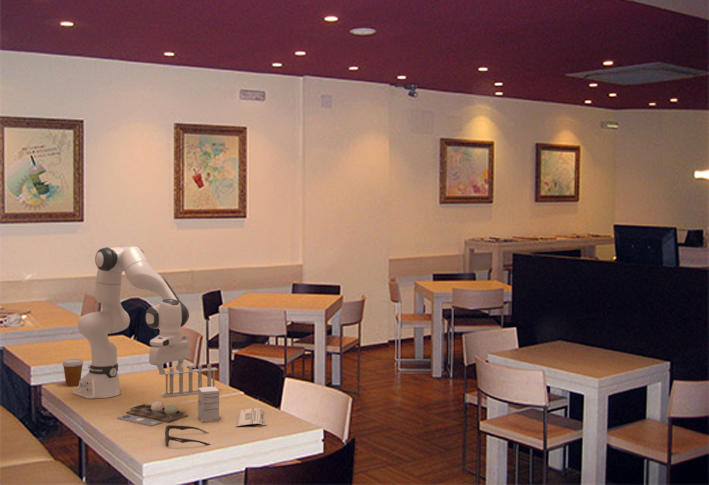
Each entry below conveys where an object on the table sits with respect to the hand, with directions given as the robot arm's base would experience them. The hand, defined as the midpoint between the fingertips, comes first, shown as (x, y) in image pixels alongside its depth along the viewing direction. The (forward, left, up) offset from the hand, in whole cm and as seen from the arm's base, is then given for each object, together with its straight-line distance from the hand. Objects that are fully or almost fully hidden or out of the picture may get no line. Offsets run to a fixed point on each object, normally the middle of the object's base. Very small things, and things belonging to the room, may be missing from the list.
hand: (170, 372), depth 291 cm
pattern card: (-7, -10, -19) cm, 23 cm away
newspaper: (+29, +17, -20) cm, 39 cm away
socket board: (-7, 0, -19) cm, 20 cm away
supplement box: (+15, +7, -19) cm, 25 cm away
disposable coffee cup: (-79, +15, -19) cm, 83 cm away
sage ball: (0, 0, -16) cm, 16 cm away
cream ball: (-7, 0, -16) cm, 17 cm away
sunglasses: (+26, -18, -20) cm, 37 cm away
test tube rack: (-20, +33, -19) cm, 44 cm away
